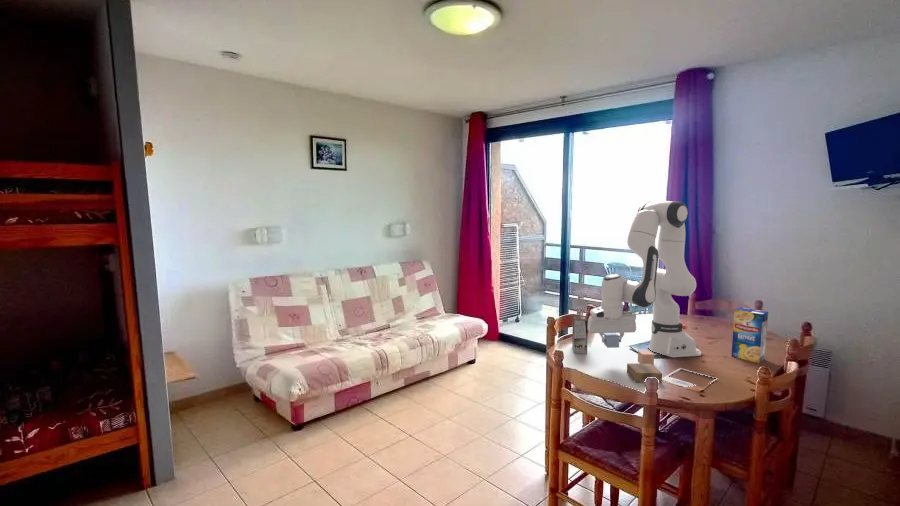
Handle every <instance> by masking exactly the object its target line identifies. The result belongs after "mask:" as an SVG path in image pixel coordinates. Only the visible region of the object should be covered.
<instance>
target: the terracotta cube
mask: <svg viewBox="0 0 900 506" xmlns="http://www.w3.org/2000/svg"><path fill="white" fill-rule="evenodd" d="M637 362H638V364H653V365H654V366H655V353H654V352H652V351H650V350H649V349H647V350H645V349H644V350H643V349H641V350H640V349H639V350H637Z"/></svg>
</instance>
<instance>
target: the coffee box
mask: <svg viewBox="0 0 900 506" xmlns="http://www.w3.org/2000/svg"><path fill="white" fill-rule="evenodd" d="M588 319H589V318H588V317H587V316H586V315H572V339H571V340H572V346H571V347H572V351H573V354H585V355H586V354H588V336H589V335H588V334H589V331H588V328H587V327H588Z"/></svg>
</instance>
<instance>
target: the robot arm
mask: <svg viewBox="0 0 900 506" xmlns="http://www.w3.org/2000/svg"><path fill="white" fill-rule="evenodd" d="M688 216H689V209H688V207H687V205H686V203H684V202H681V201H677V200H674V201H673V200H671V201H670V200H659V201H647V202H643V203H642V204H641V205H640V206H639V208H638V210H637V213H636V215H635V217H634V219H633V221H632V224H631V226H630V228H629V233H628V236H627V246H628V248H629V250H631V252H633V254H635V255H637V256H638V257H639V258H641V260H642V263H643V267H642V273H641V280H640V282H638V281H633V280H629V279H626V278H624V277H623V276H621V274H618V273H611V274H606V275H605V276H604V277H603V278H602V281H601V289H600V290H601V291H600V293H601V294H600V295H601V303H600V306H598V307H597V306H596V307H595V308H591V309H590V310H589V314H590V315H589V317H588V318H587V319H588V327H587V328H588V333H590V334H599V336H600V337H601V343H603V344H604V343H605V342H606V338H604V333H616V334H618V333H619V335H618V336H619V343H622V339H623V337H624V336H625V333H626V334H627V333H635V332H636V331H637V323H636V319H637V314H636V312H634V311H633V310H629V311H627V310H623V309H624V305H623V302H626V303H629V304H632V305H635V306H638V307H641V308H647V307H649V306H651V305H652V307H653V308H652V310H653V311H652V320H651V327H650V328H651V337H650V341H649V344H648V347H647V349H648V348H649V349H650V350H651V352H652V351H653V352H652V353H654V352H658V353H660V354H659V355H661V354H662V356H667V357H669V358H684V357H687V358H688V357H698V356H699V357H700V356H702V351H701V349H699V348H697V345H696V341H695V339H694V338H693V337H691V336H690V335H689V334H688V333H686V332H685V331H686V330H687V329H688V325H686V324H685V323H684V324H683V323H681V322H680V305H679V304H678V303H677V302H676V301H675V300H674V298H673V297H672V295H674V296H678V297H680V296H681V297H687V296H688V297H689V296H691V295H692V294H693V293H694V292H695V291H696V288H697V282H696V281H697V280H696V278H695V277H694V276H693V274H691V272H690V271H689V269H688V266H687V265H686V261H685V247H686V245H685V244H686V224H685V222H686V221H687V219H688ZM659 227H660V229H659ZM658 229H659V233H658ZM657 234H658V243H657V248H656V238H657ZM659 260H660V261H661V262H662V263H663V265H664V268H660V267H658V265H659ZM684 330H685V331H684ZM649 349H648V350H649Z"/></svg>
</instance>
